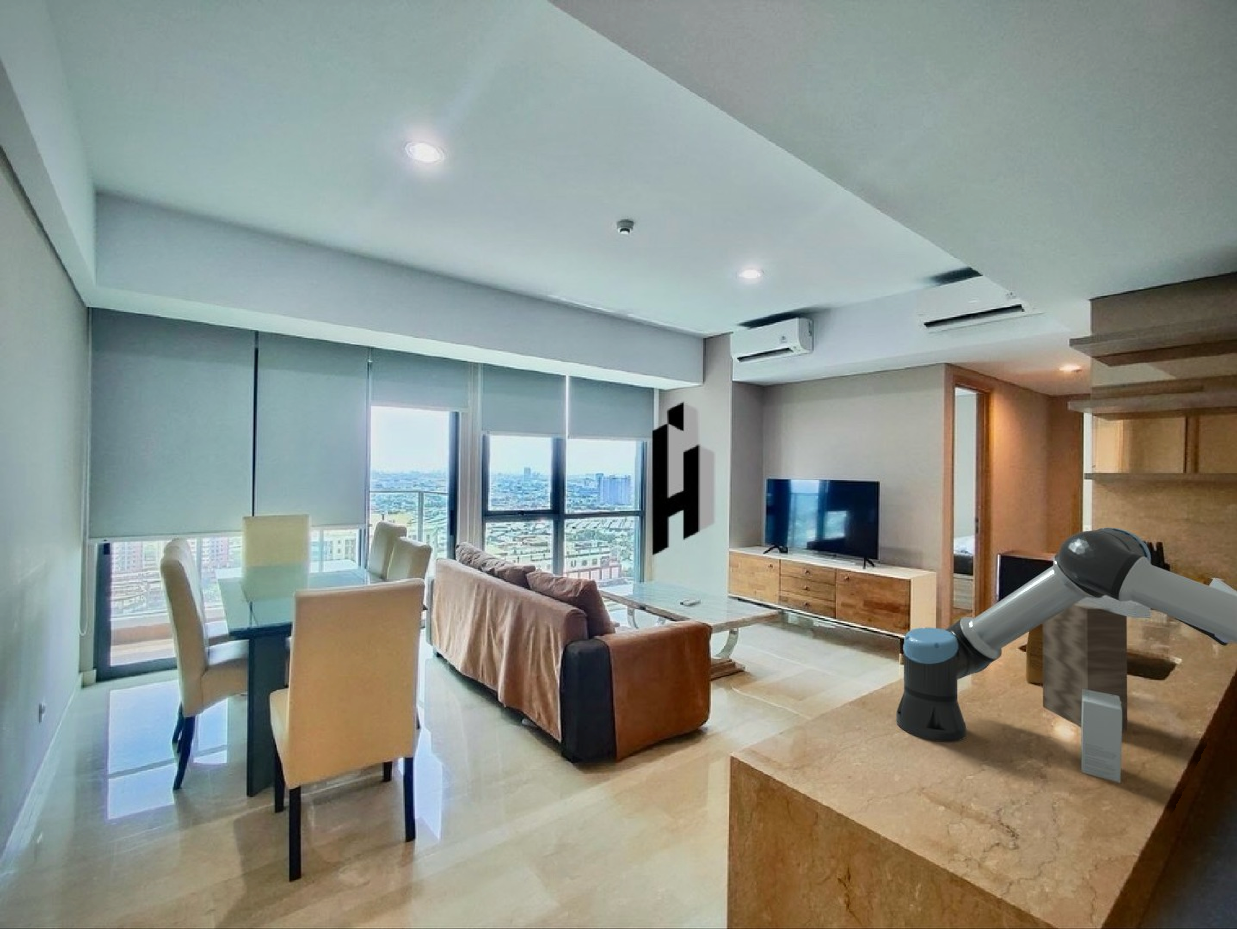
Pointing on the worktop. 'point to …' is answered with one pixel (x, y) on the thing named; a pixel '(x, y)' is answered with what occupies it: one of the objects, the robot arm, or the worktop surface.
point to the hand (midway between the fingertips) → (1181, 583)
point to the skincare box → (1101, 735)
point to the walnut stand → (1084, 659)
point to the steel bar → (1118, 606)
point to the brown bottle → (1035, 655)
